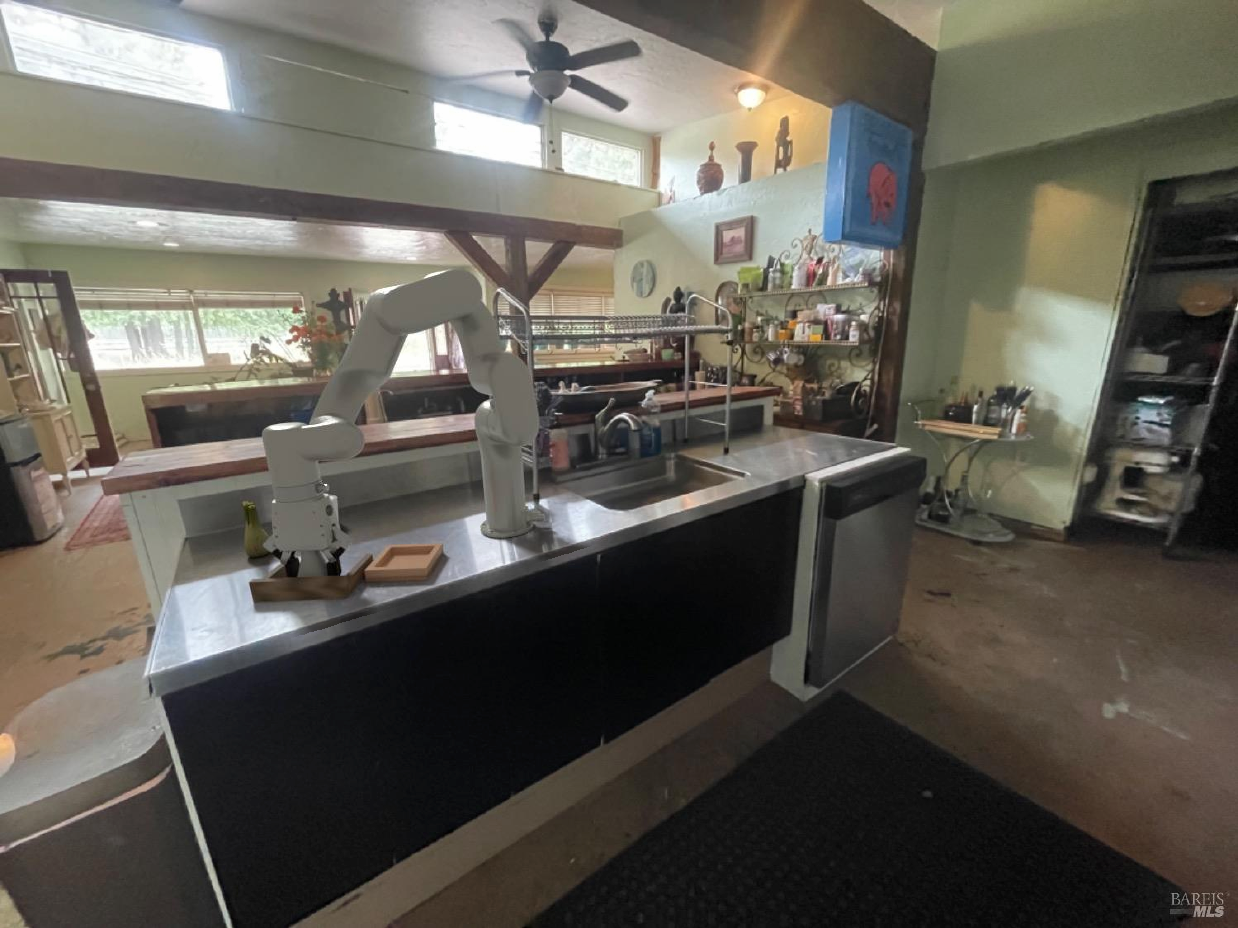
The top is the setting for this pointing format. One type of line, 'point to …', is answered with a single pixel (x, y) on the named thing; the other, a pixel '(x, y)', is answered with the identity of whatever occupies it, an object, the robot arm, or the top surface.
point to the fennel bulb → (254, 532)
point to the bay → (307, 584)
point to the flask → (312, 564)
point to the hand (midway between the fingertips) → (315, 578)
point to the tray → (404, 562)
